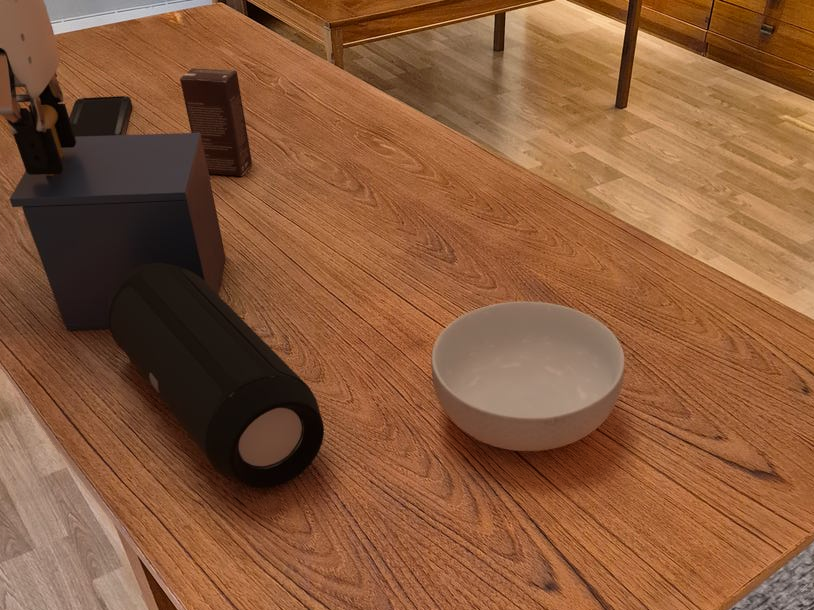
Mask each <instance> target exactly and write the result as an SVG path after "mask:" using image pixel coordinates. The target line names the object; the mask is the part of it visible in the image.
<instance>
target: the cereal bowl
mask: <svg viewBox="0 0 814 610" xmlns="http://www.w3.org/2000/svg"><path fill="white" fill-rule="evenodd" d="M430 363H431V366H430V368H431V377H432V384H433V387H434V388H433V389H434V393H435V394H436V397H437V399H438V402H439V404H440V406H441V407H442V410H443V411H444V413H445V415H446V416H447V417H449V419H450V420H451V422H452V423H454V424H455V425H456V427H457V428H459V429H461V431H462V432H464V433H466V434H467V435H469V436H470V437H472V438H474V439H475V440H477V441H478V442H482V443H483V444H485V445H489V446H492V447H493V448H494V447H495V448H499V449H503V450H508V451H514V452H516V451H517V452H541V451H548V450H554V449H558V448H561V447H565V446H568V445H570V444H573V443H576V442H577V441H580V440H582V439H583V438H585V437H587V436H589V435H590V434H591V433H592V432H594V431H595V430H597V428H599V427H600V426H601V425H602V424H603V423H604V422H605V421H606V420H607V418H608V417H609V416H610V415H611V413H612V411H613V410H614V408H615V406H616V404H617V403H618V401H619V397H620V395H621V391H622V389H623V382H624V379H625V378H624V376H625V368H626V367H625V366H626V359H625V353H624V349H623V347H622V345H621V343H620V341H619V339H618V337H617V336H616V335H615V334H614V333H613V331H612V330H611V329H610V328H608V326H606V325H605V324H604V323H602V322H601V321H600V320H598V319H596V318H595V317H593V316H591V315H588V314H587V313H584V312H582V311H580V310H577V309H575V308H573V307H572V308H571V307H568V306H564V305H561V304H555V303H550V302H542V301H507V302H499V303H494V304H490V305H489V304H488V305H486V306H482V307H479V308H476V309H473V310H470V311H468V312H466V313H464V314H462V315H460V316H459V317H457V318H455V319H454V320H453V321H451V322H450V323H449V324H447V325H446V326H445V327H444V329H443V330H442V331H441V332H440V333H439V335H437V338H436V340H435V342H434V344H433V347H432V351H431V357H430Z"/></svg>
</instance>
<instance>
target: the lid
mask: <svg viewBox="0 0 814 610" xmlns="http://www.w3.org/2000/svg"><path fill="white" fill-rule="evenodd" d="M41 106H42V111H43V115H44V120H45V124H46V129H47V128H51V130H52V133H53V136H54V140H55V143H56V146H57V149H58V152H59V155H60V159H61V162H62V165H63V171H62V173H60V174H39V175H30V174H28V173H27V172H26V170H24V173H23V174H22V176H21V178H20V179H19V181H18V183H17V185H16V187H15V189H14V190H13V192H12V193H11V195H10V198H9V202H10V204H11V207H12V208H22V207H28V206H53V205H78V204H102V203H127V202H152V201H177V200H187V197H188V193H189V189H190V185H191V181H192V178H193V174H194V170H195V166H196V162H197V158H198V154H199V150H200V146H201V142H202V137H201V133H191V132H178V133H175V132H174V133H148V134H147V133H146V134H125V135H112V136H81V137H75V139H76V145H75V146H74V147H71V148H61V144H60V141H59V138H58V135H57V132H56V128H55V123H56V122H57V120H58V114H57V111H56V110H55V109H54V108H53V107H51V106H49V105H41Z"/></svg>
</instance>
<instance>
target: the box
mask: <svg viewBox="0 0 814 610" xmlns="http://www.w3.org/2000/svg"><path fill="white" fill-rule="evenodd" d="M179 82H180V86H181V89H182V90H181V91H182V95H183V100H184V105H185V111H186V115H187V118H188V123H189V128H190V133H201V137H202V142H203V147H204V152H205V157H206V162H207V167H208V172H209V174H213V175H226V176H238V177H243V176H244V175H245V174H246V173H247V172H248V170H249V169H250V167H251V166H252V164H253V161H252V154H251V148H250V141H249V136H248V129H247V123H246V118H245V112H244V106H243V101H242V100H243V99H242V95H241V94H242V93H241V89H240V88H241V87H240V82H239V77H238V71H237V70H227V69H211V68H210V69H209V68H197V67H196V68H191V69H189V70H188V71H187V72H186V73H184V74H183V75H182V76H181V77H179Z"/></svg>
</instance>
